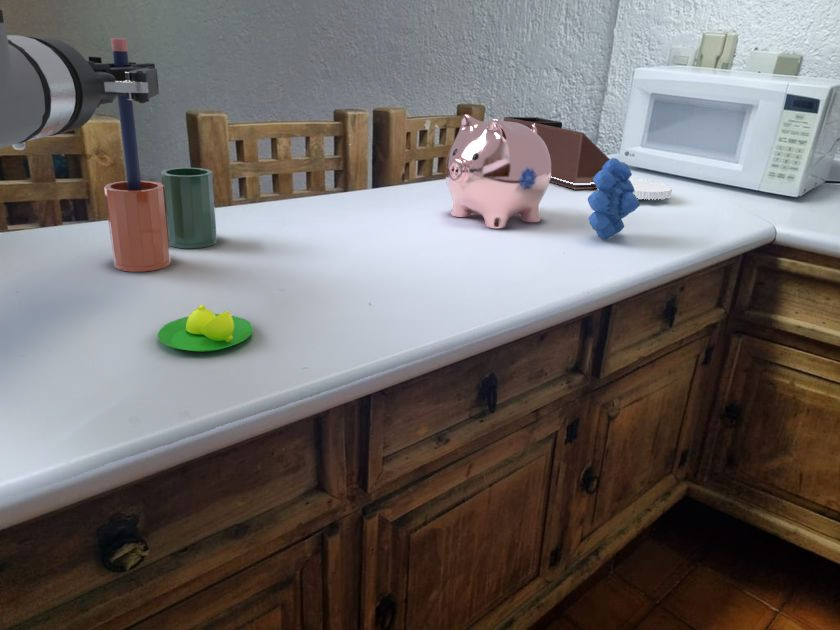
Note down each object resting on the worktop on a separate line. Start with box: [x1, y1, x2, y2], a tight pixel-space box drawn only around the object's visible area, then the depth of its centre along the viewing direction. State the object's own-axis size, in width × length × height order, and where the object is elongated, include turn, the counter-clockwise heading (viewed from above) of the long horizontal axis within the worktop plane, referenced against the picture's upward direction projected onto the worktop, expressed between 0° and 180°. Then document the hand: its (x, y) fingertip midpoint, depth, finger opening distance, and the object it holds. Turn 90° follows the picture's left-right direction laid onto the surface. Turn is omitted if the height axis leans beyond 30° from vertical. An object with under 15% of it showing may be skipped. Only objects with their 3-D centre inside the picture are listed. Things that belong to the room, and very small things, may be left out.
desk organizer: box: [503, 116, 611, 191], centre depth 144 cm, size 10×29×11 cm, turn 26°
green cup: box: [160, 167, 217, 250], centre depth 83 cm, size 6×6×9 cm
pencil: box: [110, 37, 142, 190], centre depth 70 cm, size 1×1×18 cm
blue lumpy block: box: [587, 157, 640, 240], centre depth 95 cm, size 12×7×12 cm, turn 140°
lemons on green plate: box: [157, 304, 254, 353], centre depth 58 cm, size 8×8×3 cm
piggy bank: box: [444, 113, 552, 230], centre depth 103 cm, size 15×18×16 cm
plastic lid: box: [629, 177, 673, 201], centre depth 129 cm, size 14×14×2 cm
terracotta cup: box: [103, 180, 172, 273], centre depth 74 cm, size 6×6×9 cm
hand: (142, 75), depth 73 cm, fingers closed on pencil
